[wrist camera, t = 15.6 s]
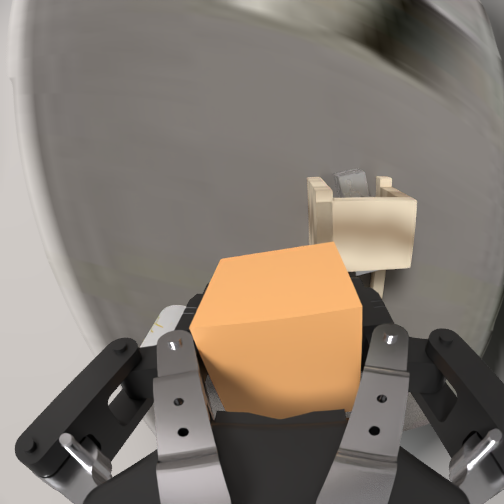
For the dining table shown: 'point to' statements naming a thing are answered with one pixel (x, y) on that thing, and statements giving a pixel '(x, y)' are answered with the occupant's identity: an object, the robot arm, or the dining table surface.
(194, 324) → the block
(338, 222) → the bridge channel
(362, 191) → the grey long rectangular bar
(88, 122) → the dining table surface
